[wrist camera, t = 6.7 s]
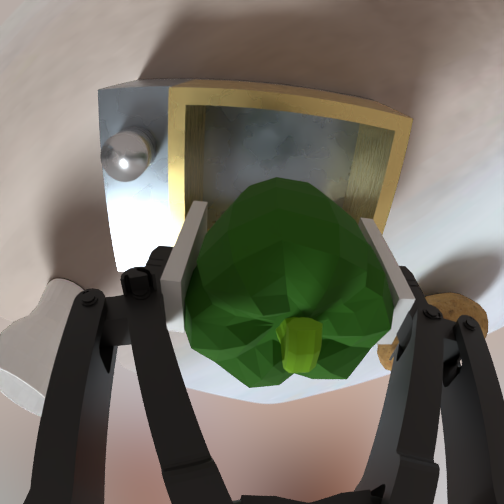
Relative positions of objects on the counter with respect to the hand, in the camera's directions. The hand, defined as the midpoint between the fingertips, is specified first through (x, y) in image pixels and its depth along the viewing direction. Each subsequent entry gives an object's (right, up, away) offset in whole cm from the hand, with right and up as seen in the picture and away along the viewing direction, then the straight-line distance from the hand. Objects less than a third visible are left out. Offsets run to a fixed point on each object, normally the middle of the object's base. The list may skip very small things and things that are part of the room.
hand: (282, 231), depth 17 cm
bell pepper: (0, 0, 0) cm, 1 cm away
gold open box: (-2, +6, +9) cm, 11 cm away
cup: (-25, -7, +19) cm, 32 cm away
